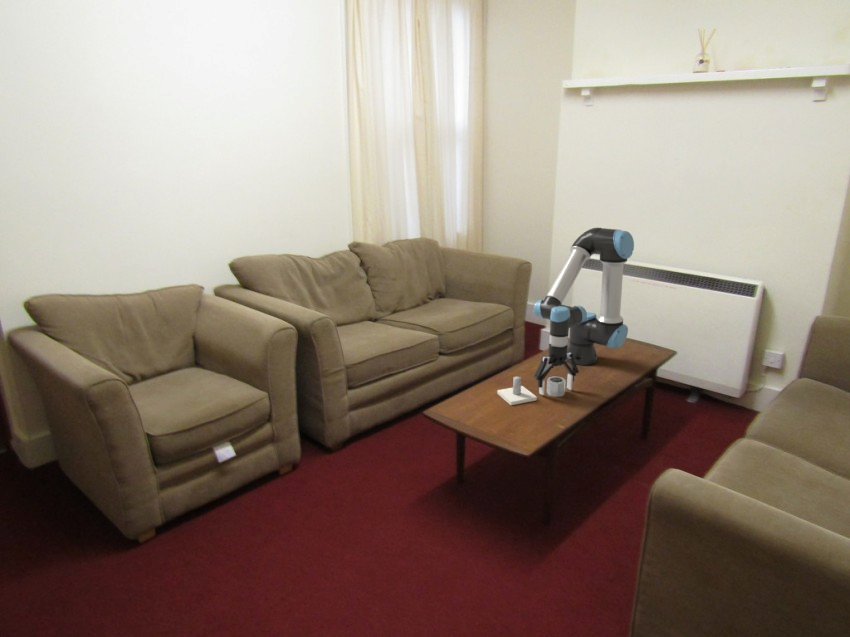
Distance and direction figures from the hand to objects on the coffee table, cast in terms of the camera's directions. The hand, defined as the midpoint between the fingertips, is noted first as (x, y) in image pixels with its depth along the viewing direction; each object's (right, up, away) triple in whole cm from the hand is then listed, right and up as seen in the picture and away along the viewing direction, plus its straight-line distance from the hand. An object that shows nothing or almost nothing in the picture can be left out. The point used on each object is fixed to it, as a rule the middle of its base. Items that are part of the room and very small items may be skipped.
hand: (555, 391), depth 239 cm
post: (-17, -2, -2) cm, 17 cm away
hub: (0, -1, 0) cm, 1 cm away
